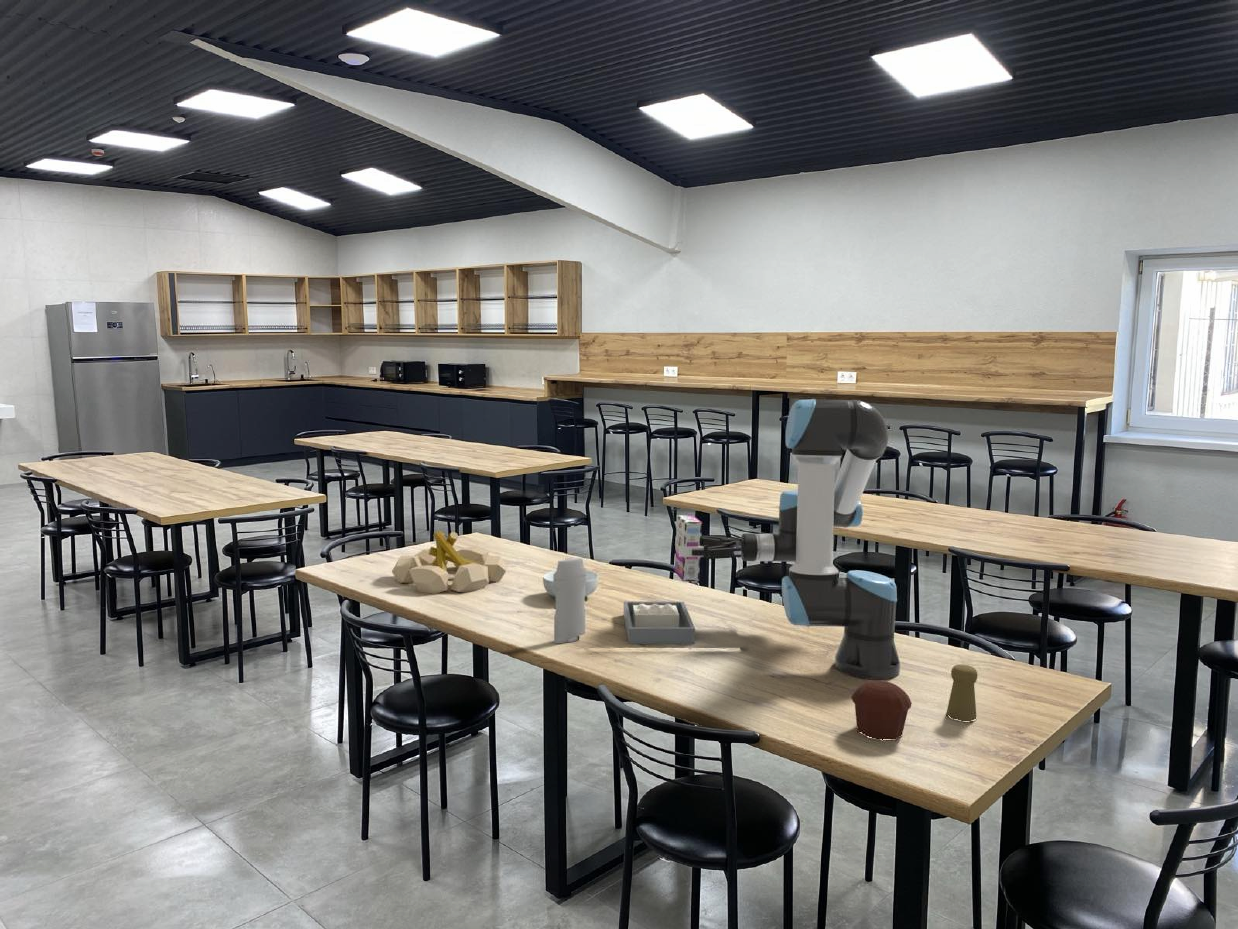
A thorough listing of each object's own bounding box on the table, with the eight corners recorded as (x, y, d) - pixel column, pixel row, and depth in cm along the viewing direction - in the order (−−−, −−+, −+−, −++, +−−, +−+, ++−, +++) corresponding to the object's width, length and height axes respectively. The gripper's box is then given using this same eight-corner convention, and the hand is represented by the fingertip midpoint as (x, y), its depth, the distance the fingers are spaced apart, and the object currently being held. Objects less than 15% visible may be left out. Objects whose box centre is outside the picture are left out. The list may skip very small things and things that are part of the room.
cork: (969, 710, 190) (972, 661, 189) (981, 722, 184) (985, 671, 183) (941, 710, 190) (944, 661, 188) (953, 722, 184) (956, 671, 182)
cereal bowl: (588, 588, 281) (588, 566, 280) (606, 602, 265) (606, 579, 264) (536, 592, 275) (536, 570, 274) (551, 607, 259) (552, 584, 258)
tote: (694, 647, 227) (695, 628, 226) (628, 647, 226) (628, 628, 225) (683, 618, 251) (683, 601, 250) (623, 618, 250) (623, 601, 249)
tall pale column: (557, 646, 226) (558, 562, 223) (548, 641, 230) (549, 558, 227) (590, 637, 233) (591, 556, 230) (581, 633, 236) (582, 553, 233)
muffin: (852, 740, 175) (854, 692, 173) (846, 717, 185) (849, 672, 184) (914, 746, 173) (917, 697, 171) (905, 722, 184) (908, 676, 182)
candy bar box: (700, 581, 239) (702, 522, 237) (682, 582, 238) (684, 522, 236) (691, 571, 250) (693, 514, 248) (674, 571, 249) (675, 514, 247)
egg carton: (679, 627, 240) (679, 611, 239) (634, 627, 239) (635, 611, 238) (675, 617, 248) (675, 601, 248) (632, 617, 248) (633, 601, 247)
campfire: (377, 578, 289) (376, 526, 287) (466, 562, 312) (465, 514, 310) (432, 602, 264) (432, 546, 262) (525, 583, 286) (525, 531, 284)
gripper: (763, 571, 232) (680, 570, 232) (748, 551, 256) (673, 550, 255) (764, 543, 231) (681, 542, 231) (749, 525, 255) (674, 524, 254)
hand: (677, 546), depth 243 cm, fingers closed on candy bar box, 11 cm apart
